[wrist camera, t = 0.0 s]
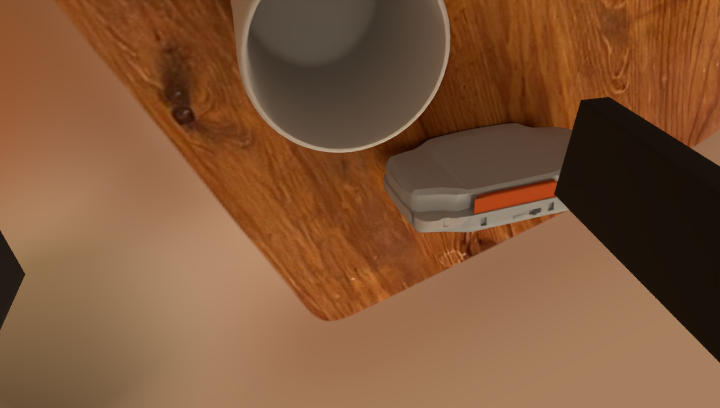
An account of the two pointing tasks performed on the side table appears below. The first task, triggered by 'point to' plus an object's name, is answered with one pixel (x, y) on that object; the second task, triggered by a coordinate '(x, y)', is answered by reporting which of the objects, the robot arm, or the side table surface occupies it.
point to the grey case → (479, 177)
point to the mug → (341, 66)
